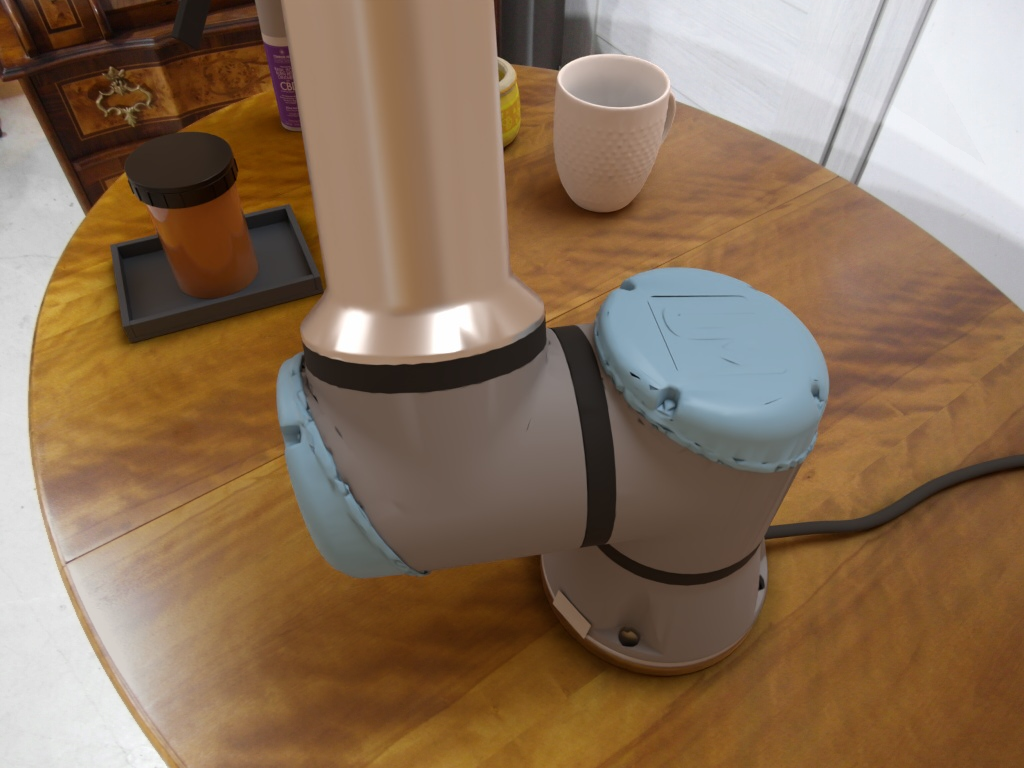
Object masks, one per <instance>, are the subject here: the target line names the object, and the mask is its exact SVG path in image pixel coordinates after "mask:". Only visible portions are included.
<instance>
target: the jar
mask: <svg viewBox="0 0 1024 768" xmlns="http://www.w3.org/2000/svg"><path fill="white" fill-rule="evenodd" d="M144 205H145V208H146V210H147V213H148V216H149V218H150V220H151V223H152V225H153V228H154V231H155V233H156V234H157V235H158V238H159V240H160V243H161V245H162V248H163V250H164V252H165V255H166V257H167V260H168V262H169V265H170V267H171V270H172V272H173V275H174V277H175V280H176V282H177V285H178V286H179V288H180V289H181V290H182V291H183V292H185V293H186V294H188V295H190V296H193V297H197V298H203V299H214V298H221V297H225V296H229V295H232V294H234V293H237V292H239V291H241V290H242V289H244V288H246V287H247V286H248V285H249V284H250V283H251V282H252V281H253V280H254V279H255V278H256V276H257V274H258V271H259V263H258V259H257V256H256V252H255V249H254V245H253V242H252V239H251V235H250V232H249V228H248V225H247V221H246V218H245V215H244V214H245V212H244V208H243V204H242V201H241V198H240V195H239V191H238V188H237V184H236V182H235V183H234V185H233V186H232V187H231V188H230V189H229V190H228V191H227V192H226V193H224V194H223V195H221V196H220V197H218V198H216V199H214V200H212V201H210V202H207V203H205V204H201V205H198V206H194V207H189V208H181V209H164V208H157V207H152V206H150V205H147V204H145V203H144Z"/></svg>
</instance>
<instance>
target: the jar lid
mask: <svg viewBox="0 0 1024 768" xmlns="http://www.w3.org/2000/svg"><path fill="white" fill-rule="evenodd" d="M232 149H233V148H232V147H231V145H230V144H229V143H228V141H227V140H225V139H224V138H222V137H220V136H218V135H216V134H212V133H210V132H209V133H208V132H205V131H204V132H203V131H180V132H173V133H169V134H163V135H160V136H157V137H155V138H152V139H150V140H148V141H146V142H143V143H142V144H140V145H139V146H137V147H136V148H135V149H134V150H132V151H131V153H130V154H128V156H127V158H126V160H125V162H124V167H123V168H124V173H125V175H126V177H127V178H126V179H127V183H128V185H129V187H130V190H131V193H132V195H134V196H135V197H136V198H137V199H138V200H139V202H142V203H144V205H145V204H147V205H150V206H152V207H157V208H164V209H181V208H189V207H194V206H198V205H201V204H205V203H207V202H210V201H212V200H214V199H216V198H218V197H220V196H221V195H223V194H224V193H226V192H227V191H228V190H229V189H230V188H231V187H232V186H233V185H234V183H235V184H236V181H237V179H238V174H239V173H238V172H239V167H238V164H237V160H236V158H235V156H234V153H233V150H232Z"/></svg>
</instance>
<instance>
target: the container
mask: <svg viewBox="0 0 1024 768" xmlns="http://www.w3.org/2000/svg"><path fill="white" fill-rule="evenodd" d="M254 2H255V3H254V4H255V8H256V14H257V17H258V22H259V27H260V32H261V38H262V43H263V47H264V51H265V57H266V60H267V65H268V69H269V70H268V71H269V74H270V79H271V83H272V88H273V93H274V96H275V101H276V105H277V110H278V113H279V119H280V122H281V123H280V124H281V126H282V127H283V128H284V129H286V130H288V131H290V132H291V131H292V132H302V129H301V123H300V117H299V111H298V104H297V98H296V92H295V86H294V80H293V73H292V67H291V61H290V55H289V48H288V42H287V36H286V30H285V23H284V17H283V11H282V5H281V0H254Z"/></svg>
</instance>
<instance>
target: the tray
mask: <svg viewBox="0 0 1024 768" xmlns="http://www.w3.org/2000/svg"><path fill="white" fill-rule="evenodd" d="M244 215H245V218H246V221H247V225H248V228H249V232H250V235H251V239H252V242H253V245H254V249H255V252H256V256H257V259H258V263H259V271H258V274H257V276H256V278H255V279H254V280H253V281H252V282H251V283H250V284H249V285H248V286H247V287H246V288H244V289H242V290H241V291H239V292H237V293H234V294H232V295H229V296H225V297H221V298H214V299H203V298H197V297H193V296H190V295H188V294H186V293H185V292H183V291H182V290H181V289H180V288H179V286H178V285H177V282H176V280H175V277H174V275H173V272H172V270H171V267H170V265H169V262H168V260H167V257H166V255H165V252H164V250H163V248H162V245H161V243H160V240H159V238H158V235H157V233H156V234H152V235H147V236H143V237H139V238H134V239H130V240H126V241H122V242H117V243H113V244H110V245H109V249H110V254H111V260H112V268H113V272H114V278H115V279H114V280H115V285H116V291H117V298H118V304H119V310H120V311H119V312H120V317H121V324H122V328H123V331H124V332H125V334H126V336H127V339H128V340H129V342H130V343H131V344H134V343H138V342H141V341H145V340H149V339H152V338H157V337H160V336H163V335H164V336H165V335H168V334H171V333H172V334H173V333H176V332H179V331H182V330H186V329H190V328H194V327H198V326H202V325H206V324H210V323H214V322H217V321H220V320H224V319H225V320H226V319H228V318H232V317H236V316H240V315H243V314H247V313H251V312H255V311H258V310H262V309H266V308H270V307H273V306H277V305H281V304H285V303H288V302H293V301H295V300H301V299H304V298H309V297H311V296H315V295H319V294H324V292H325V289H324V287H323V281H322V277H321V274H320V271H319V270H318V267H317V265H316V262H315V260H314V258H313V255H312V252H311V250H310V248H309V246H308V244H307V241H306V239H305V237H304V234H303V232H302V229H301V227H300V225H299V222H298V219H297V218H296V215H295V212H294V211H293V208H292V206H291V204H290V203H288V204H283V205H278V206H275V207H270V208H266V209H262V210H257V211H252V212H247V213H244Z"/></svg>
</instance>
